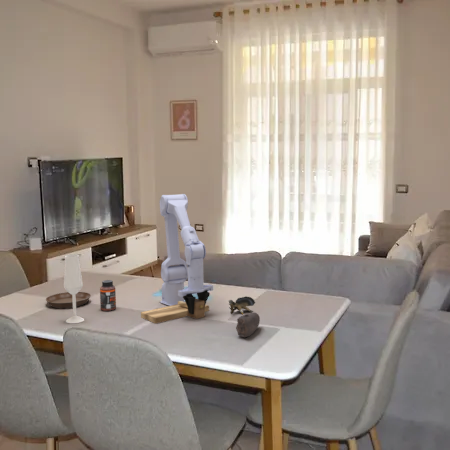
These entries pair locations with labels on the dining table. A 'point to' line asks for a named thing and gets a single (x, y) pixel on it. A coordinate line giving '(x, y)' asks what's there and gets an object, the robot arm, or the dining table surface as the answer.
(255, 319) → the perforated stone tool
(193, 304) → the robot arm
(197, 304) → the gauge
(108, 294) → the supplement bottle
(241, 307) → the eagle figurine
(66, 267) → the champagne flute
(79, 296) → the plant saucer
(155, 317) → the board
